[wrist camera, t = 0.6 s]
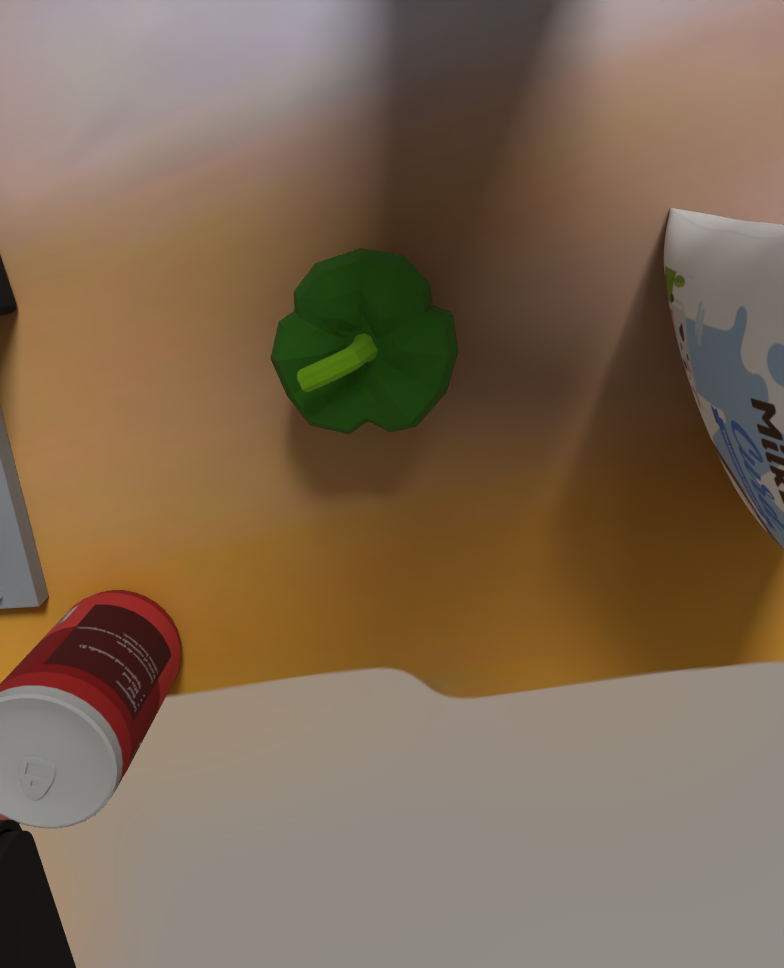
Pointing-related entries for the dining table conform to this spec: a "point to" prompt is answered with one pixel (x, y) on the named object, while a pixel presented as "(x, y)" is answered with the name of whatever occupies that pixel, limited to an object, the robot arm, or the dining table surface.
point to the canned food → (83, 707)
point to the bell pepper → (365, 344)
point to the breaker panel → (16, 539)
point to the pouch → (734, 346)
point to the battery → (5, 293)
